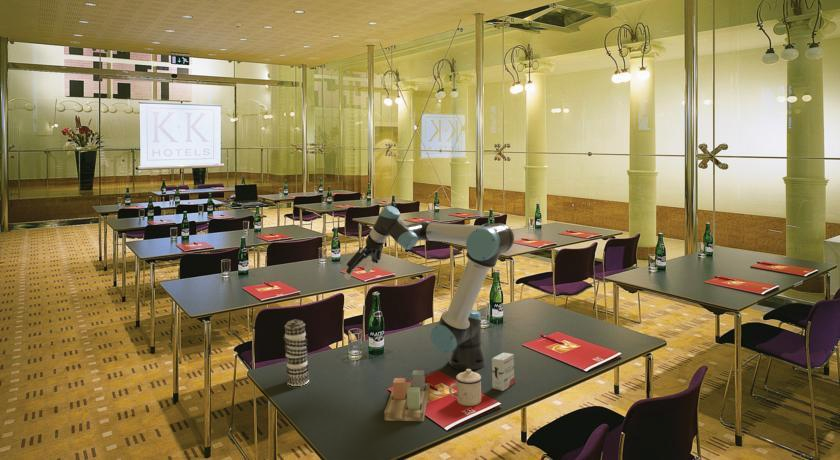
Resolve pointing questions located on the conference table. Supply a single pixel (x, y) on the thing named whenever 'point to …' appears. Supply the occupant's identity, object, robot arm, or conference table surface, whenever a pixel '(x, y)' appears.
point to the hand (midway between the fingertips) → (356, 274)
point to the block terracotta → (399, 388)
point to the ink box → (502, 371)
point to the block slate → (419, 379)
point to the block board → (406, 407)
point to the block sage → (413, 398)
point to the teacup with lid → (467, 388)
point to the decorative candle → (296, 353)
